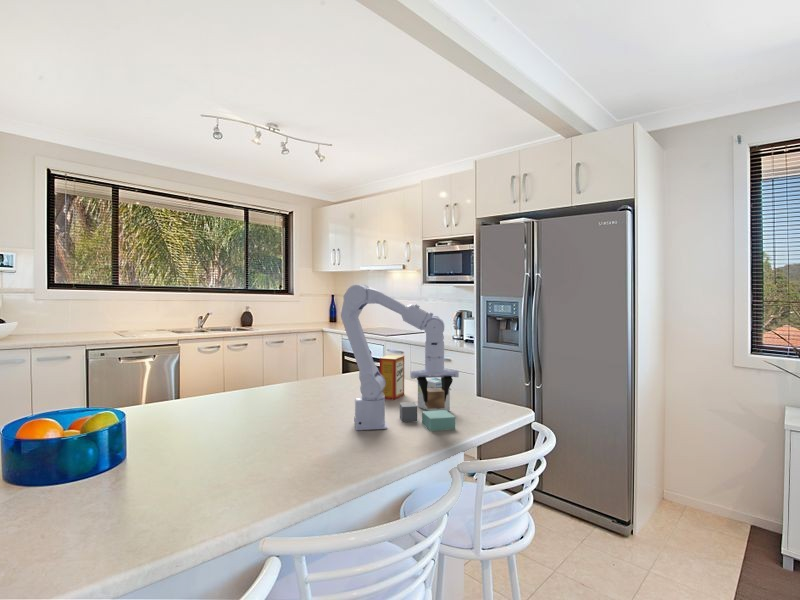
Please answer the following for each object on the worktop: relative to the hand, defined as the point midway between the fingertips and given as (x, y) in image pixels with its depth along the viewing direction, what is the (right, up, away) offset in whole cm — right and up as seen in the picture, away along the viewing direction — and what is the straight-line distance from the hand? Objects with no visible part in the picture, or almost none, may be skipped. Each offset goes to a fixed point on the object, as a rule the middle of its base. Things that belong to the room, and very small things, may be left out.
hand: (434, 401), depth 130 cm
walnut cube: (0, -2, 0) cm, 2 cm away
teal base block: (+1, -9, +3) cm, 9 cm away
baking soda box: (-14, -8, +40) cm, 43 cm away
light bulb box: (+1, -8, +22) cm, 24 cm away
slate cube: (-8, -8, +10) cm, 15 cm away
